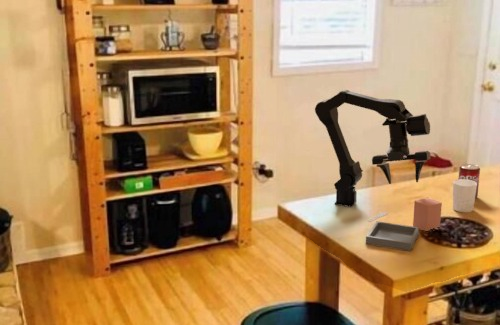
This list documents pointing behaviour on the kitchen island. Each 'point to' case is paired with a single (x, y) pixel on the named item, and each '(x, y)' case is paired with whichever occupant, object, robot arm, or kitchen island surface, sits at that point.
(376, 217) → the butter knife
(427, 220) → the terracotta block
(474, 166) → the soda can
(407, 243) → the charcoal tray
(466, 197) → the white cup
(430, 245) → the kitchen island surface
